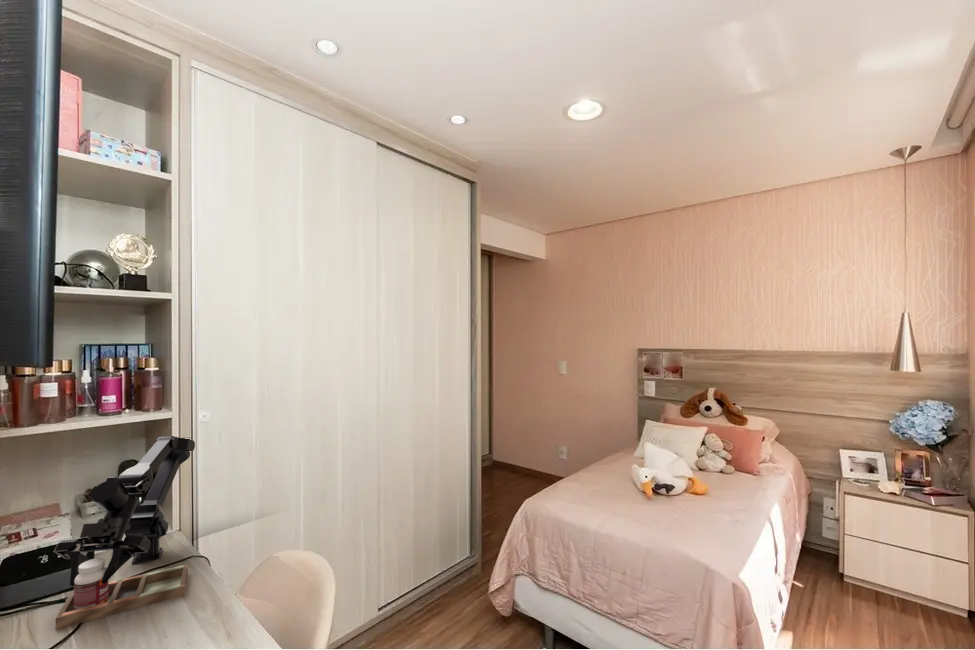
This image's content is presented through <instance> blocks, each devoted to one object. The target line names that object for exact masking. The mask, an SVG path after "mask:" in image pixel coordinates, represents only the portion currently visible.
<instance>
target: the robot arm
mask: <svg viewBox="0 0 975 650" xmlns="http://www.w3.org/2000/svg"><path fill="white" fill-rule="evenodd" d="M185 438H186V437H179V436H178V437H177V436H176V435H175V436H174V435H166V436H163V435H162V436H159V437H157V438H156V439H155V441H154V444H153V445H152V447H150V449H149V450H148V451H147V452H146V453H145V454H144V455H143V457H142V458H140V460H139V461H138V462H137V463H136V465H134V466H131V467H128V468H127V469H125V470H124V471H123V472H121V473H120V474H119V475H118V476H113V477H111V476H110V477H107V478H106V480H105V481H104V482H101V483H99V484H98V485H97V486H95V488H93V489H91V492H90V495H89V497H90V500H91V501H92V502H93V503H94V504H95V505H97V506H98V507H99V509H100V508H101V510H102V511H105V515H104V517H103V518H99V519H98V520H97V522H95V523H94V522H92V523H83V525H82V528H81V532H80V536H79V538H78V539H77V538H75V539H65V540H60V542H58V543H57V544H56V546H55V547H54V550H53V551H52V552H53V553H55V554H56V555H57V556H60V557H61V558H63V559H64V560H70V575H69V577H70V578H69V579H70V580H69V586H70V587H72V588H74V580H75V578H76V576H77V575H78V574H79V572H78V568H79V565H80V564H82V563H83V562H86V561H88V560H91V558H89V557H88V556H87V554H88V553H90V552H91V553H93V552H100V551H112V555H111V558H110V561H109V563H108V565H107V567H106V568H107V569H106V571H105V573H104V576H103V578H102V581H101V583H103V584H105V583H106V582H107V581H108V582H109V580H110V579H111V578H112V577H113V576H114V574H115V573H117V571H119V570H120V568H122V566H123V565H125V564H126V563H127V562H128V561H129V560H130V559H131V558H132V561H131V565H136V564H141V563H144V562H146V563H147V562H150V561H155V560H158V559H159V560H160V558H161V555H162V552H163V547H161V546H160V544H161V543H160V541H161V540H160V539H161V538H162V537H164V536H166V535H167V532H168V531H169V523H168V522H167V520H165V519H164V517H165V514H164V511H163V505H164V503H165V500H166V497H167V495H168V493H169V490H171V489H170V488H171V487H172V484H173V482H174V480H175V476H176V474H177V473H178V470H179V468H180V466H181V465H182V464H183V463H184V462H186V461H187V460H188V459H189V458H190V457H191V455H190V452H189V451H192V452H193V451H194V450H195V447H196V441H194V440H193V439H192V440H190V439H185ZM158 468H159V469H158ZM157 469H158V471H157V473H156V475H155V478H154V473H155V472H156V470H157ZM147 491H148V492H147ZM146 492H147V494H146V497H145V498H144V500H143V503H141V502H140V501H139V497H138V496H134V495H137V494H139V495H140V494H145V493H146ZM124 536H125V537H124ZM84 538H86V540H87V541H89V542H87V543H85V542H84V541H82V540H80V539H84ZM123 538H124V539H123Z"/></svg>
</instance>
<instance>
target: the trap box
mask: <svg viewBox="0 0 975 650" xmlns="http://www.w3.org/2000/svg"><path fill="white" fill-rule="evenodd" d="M188 577H189V565H188V564H187V565H184V564H182V565H178V566H173V567H169V568H165V569H161V570H156V571H152V572H148V573H146V574H144V575H143V574H139V575H138V574H137V575H134V576H130V577H127V578H122V580H114V581H113V580H112V581H108V596H110V599H109V600H108V602H106V603H102V604H98V605H94V606H90V607H86V608H82V609H78V610H74V591H72V592H70V593H69V595H68V596H67V598H66V600H65V602H64V603H63V605H62V607H61V609H60V610H59V612H58V613H57V615H56V617H55V630H58V629H59V630H60V629H63V628H66V627H70V626H75V625H78V624H82V623H86V622H90V621H93V620H97V619H101V618H105V617H109V616H112V615H116V614H120V613H123V612H124V613H125V612H128V611H131V610H135V609H139V608H143V607H146V606H147V607H148V606H151V605H154V604H158V603H162V602H166V601H169V600H174V599H177V598H181V597H185V595H186V589H187V583H188Z"/></svg>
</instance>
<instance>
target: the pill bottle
mask: <svg viewBox="0 0 975 650" xmlns="http://www.w3.org/2000/svg"><path fill="white" fill-rule="evenodd" d="M106 569H107V567H105V558H103V557H98V558H92V559H91V558H90V560H88V561H86V562H83V563H82V564H80V565H79V568H78V572H79V574H78V575H77V576H76V578H75V580H74V586H73V592H74V606H73V611H74V610H78V609H82V608H86V607H90V606H94V605H98V604H102V603H106V602H109V595H108V582H109V580H108V581H107V582H106V583H105V584H103V583H101V581H102V578H103V576H104V573H105V571H106Z"/></svg>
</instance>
